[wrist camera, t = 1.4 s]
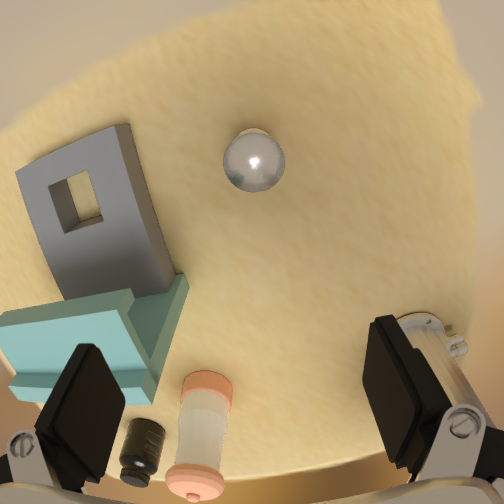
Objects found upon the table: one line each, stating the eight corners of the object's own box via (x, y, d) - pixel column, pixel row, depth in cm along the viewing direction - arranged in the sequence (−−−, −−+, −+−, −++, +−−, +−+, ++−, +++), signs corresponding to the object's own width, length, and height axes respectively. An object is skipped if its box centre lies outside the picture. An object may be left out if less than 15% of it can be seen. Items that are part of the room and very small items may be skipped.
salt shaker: (193, 404, 46) (175, 510, 29) (176, 373, 44) (149, 487, 26) (237, 399, 46) (232, 511, 28) (224, 367, 43) (213, 489, 25)
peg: (268, 124, 30) (277, 126, 19) (277, 161, 32) (290, 185, 21) (229, 132, 31) (216, 140, 20) (238, 170, 32) (231, 198, 21)
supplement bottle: (124, 416, 49) (106, 469, 38) (159, 418, 48) (145, 475, 37) (137, 437, 51) (124, 487, 40) (170, 439, 51) (160, 492, 40)
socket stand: (137, 120, 30) (33, 132, 14) (189, 287, 38) (151, 404, 21) (28, 167, 32) (-79, 213, 15) (83, 307, 39) (19, 400, 23)
